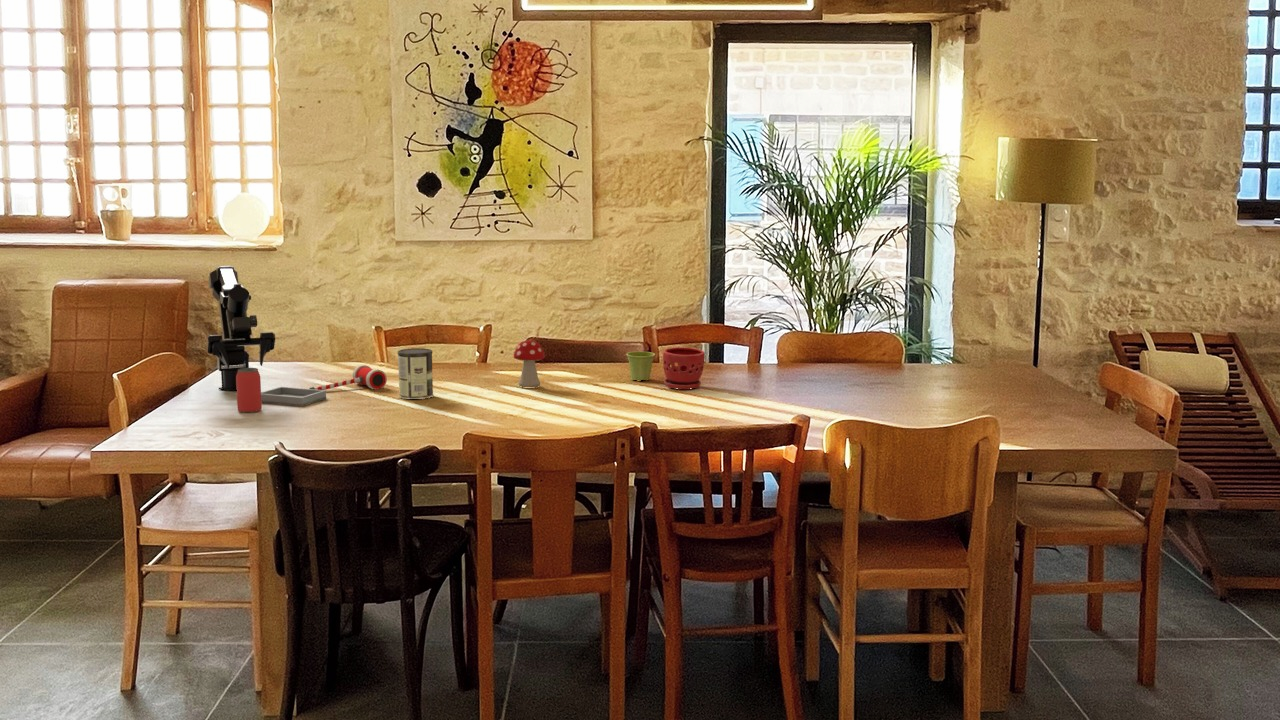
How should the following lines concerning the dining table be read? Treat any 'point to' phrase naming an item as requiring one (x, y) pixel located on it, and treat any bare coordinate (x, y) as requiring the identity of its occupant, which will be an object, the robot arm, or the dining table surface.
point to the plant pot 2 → (683, 367)
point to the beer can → (248, 390)
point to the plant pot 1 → (640, 365)
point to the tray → (292, 396)
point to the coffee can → (415, 373)
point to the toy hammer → (361, 379)
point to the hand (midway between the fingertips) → (245, 366)
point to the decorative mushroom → (529, 362)
